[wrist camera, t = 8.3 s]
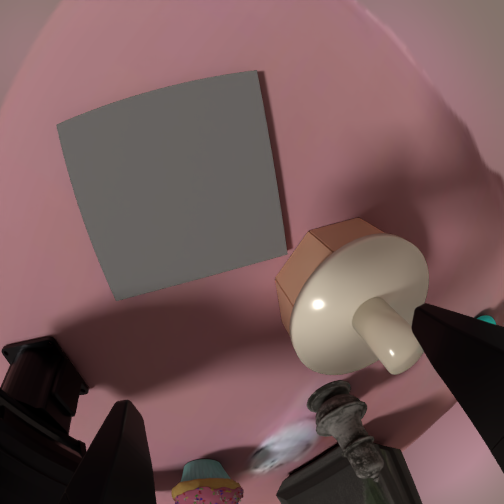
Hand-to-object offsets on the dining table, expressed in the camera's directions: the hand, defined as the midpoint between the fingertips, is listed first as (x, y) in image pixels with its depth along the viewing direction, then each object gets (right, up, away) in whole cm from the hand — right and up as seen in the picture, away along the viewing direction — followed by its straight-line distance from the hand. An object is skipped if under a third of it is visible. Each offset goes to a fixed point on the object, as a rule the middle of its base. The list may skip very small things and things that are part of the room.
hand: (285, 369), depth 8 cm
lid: (+7, -1, +12) cm, 14 cm away
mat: (-5, +7, +9) cm, 13 cm away
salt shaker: (+7, -12, +22) cm, 26 cm away
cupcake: (-7, -24, +23) cm, 34 cm away
